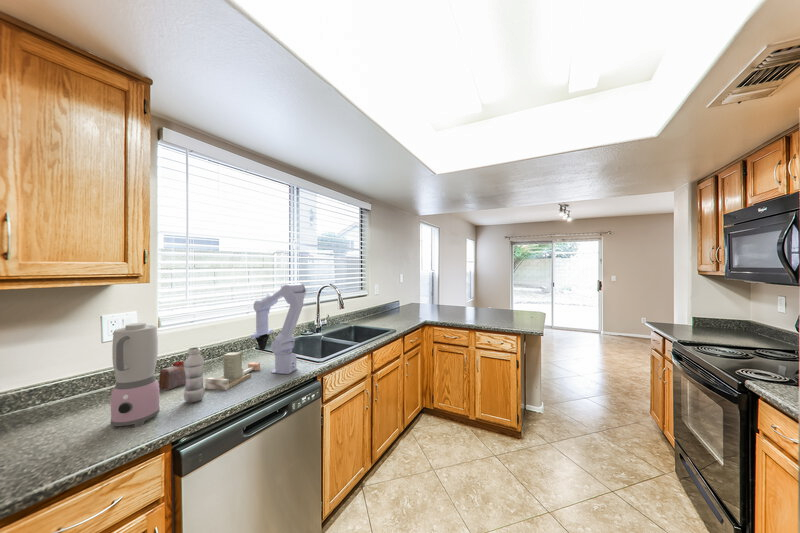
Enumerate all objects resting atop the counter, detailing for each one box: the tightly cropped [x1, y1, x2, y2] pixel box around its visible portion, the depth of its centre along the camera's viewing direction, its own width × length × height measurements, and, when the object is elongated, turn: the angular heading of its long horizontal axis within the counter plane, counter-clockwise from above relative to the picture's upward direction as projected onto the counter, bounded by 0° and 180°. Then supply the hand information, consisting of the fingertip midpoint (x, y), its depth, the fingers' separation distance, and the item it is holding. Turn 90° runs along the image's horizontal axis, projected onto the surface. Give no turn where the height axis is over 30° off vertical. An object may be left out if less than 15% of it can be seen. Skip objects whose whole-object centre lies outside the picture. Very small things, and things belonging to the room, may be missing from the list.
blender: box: [110, 322, 161, 430], centre depth 97 cm, size 16×12×32 cm
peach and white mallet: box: [242, 361, 261, 377], centre depth 142 cm, size 5×11×4 cm, turn 168°
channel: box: [204, 372, 252, 391], centre depth 131 cm, size 10×15×4 cm, turn 168°
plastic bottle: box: [183, 346, 205, 404], centre depth 112 cm, size 6×7×20 cm
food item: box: [158, 361, 186, 391], centre depth 129 cm, size 14×8×10 cm, turn 163°
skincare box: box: [222, 351, 243, 383], centre depth 133 cm, size 6×4×12 cm
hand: (262, 349), depth 153 cm, fingers closed
